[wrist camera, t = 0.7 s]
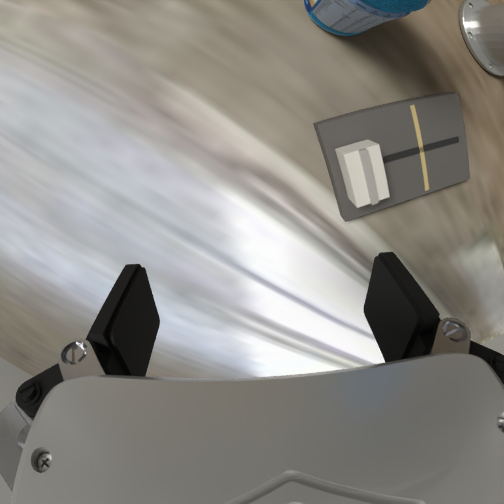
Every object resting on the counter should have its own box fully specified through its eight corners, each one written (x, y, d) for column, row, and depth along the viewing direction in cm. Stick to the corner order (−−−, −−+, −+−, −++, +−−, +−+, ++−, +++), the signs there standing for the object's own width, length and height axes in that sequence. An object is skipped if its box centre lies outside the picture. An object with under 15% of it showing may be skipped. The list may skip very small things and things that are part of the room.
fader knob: (367, 139, 28) (380, 145, 25) (378, 188, 31) (391, 198, 28) (335, 149, 29) (345, 155, 26) (348, 198, 32) (358, 209, 29)
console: (449, 91, 26) (458, 93, 24) (461, 174, 32) (470, 179, 30) (313, 123, 30) (317, 125, 28) (340, 215, 35) (345, 222, 33)
